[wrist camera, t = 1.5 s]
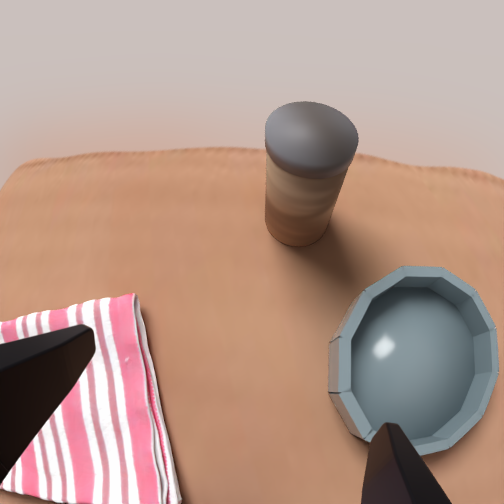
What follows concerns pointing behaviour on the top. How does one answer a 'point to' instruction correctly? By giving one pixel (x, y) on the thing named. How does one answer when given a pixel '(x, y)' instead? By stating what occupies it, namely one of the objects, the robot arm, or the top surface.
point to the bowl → (414, 358)
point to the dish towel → (100, 416)
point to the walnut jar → (305, 169)
